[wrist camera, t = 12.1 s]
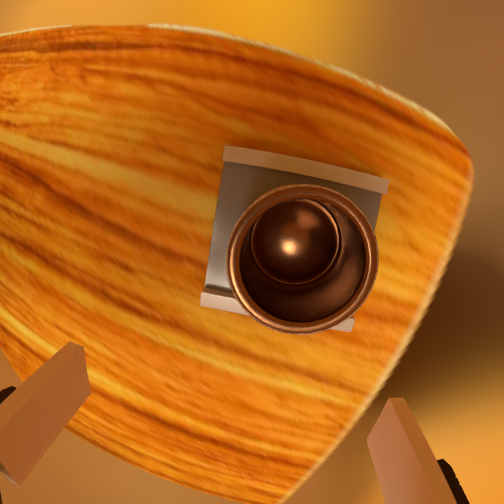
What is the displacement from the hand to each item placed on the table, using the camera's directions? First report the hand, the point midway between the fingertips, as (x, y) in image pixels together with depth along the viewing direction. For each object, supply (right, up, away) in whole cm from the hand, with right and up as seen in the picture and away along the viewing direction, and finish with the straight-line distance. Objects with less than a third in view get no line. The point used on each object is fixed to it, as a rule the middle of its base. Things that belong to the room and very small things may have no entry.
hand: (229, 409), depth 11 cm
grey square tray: (+5, +8, +20) cm, 22 cm away
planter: (+5, +7, +19) cm, 21 cm away
